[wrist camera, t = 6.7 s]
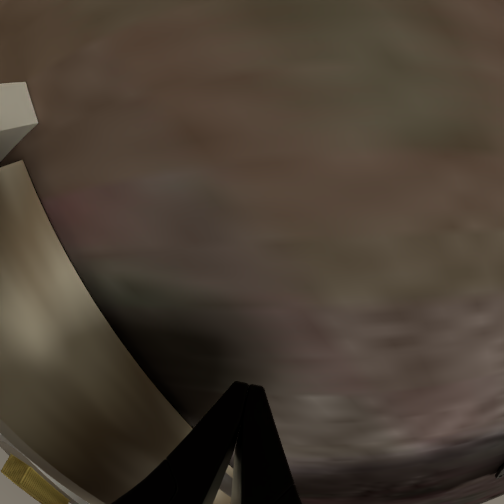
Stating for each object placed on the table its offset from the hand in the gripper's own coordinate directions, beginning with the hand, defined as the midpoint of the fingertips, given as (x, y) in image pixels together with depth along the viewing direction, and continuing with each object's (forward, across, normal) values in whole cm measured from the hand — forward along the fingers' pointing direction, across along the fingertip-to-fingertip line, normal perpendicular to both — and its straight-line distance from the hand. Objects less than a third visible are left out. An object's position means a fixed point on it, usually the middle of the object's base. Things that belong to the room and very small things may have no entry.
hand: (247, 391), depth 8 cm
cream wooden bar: (+1, +4, +2) cm, 5 cm away
